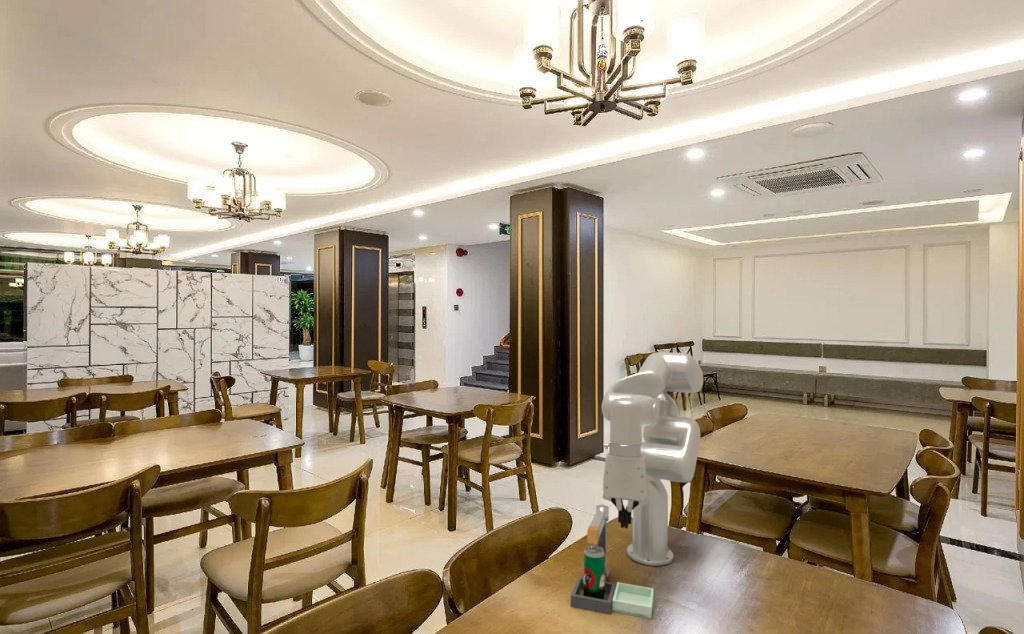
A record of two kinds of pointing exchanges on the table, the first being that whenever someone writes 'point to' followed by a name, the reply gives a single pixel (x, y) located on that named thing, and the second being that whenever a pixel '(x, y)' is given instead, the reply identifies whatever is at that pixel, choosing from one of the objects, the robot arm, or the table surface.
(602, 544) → the post
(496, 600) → the table surface
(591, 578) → the soda can
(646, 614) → the tray
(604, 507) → the bar
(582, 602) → the collar
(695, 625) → the table surface
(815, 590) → the table surface
